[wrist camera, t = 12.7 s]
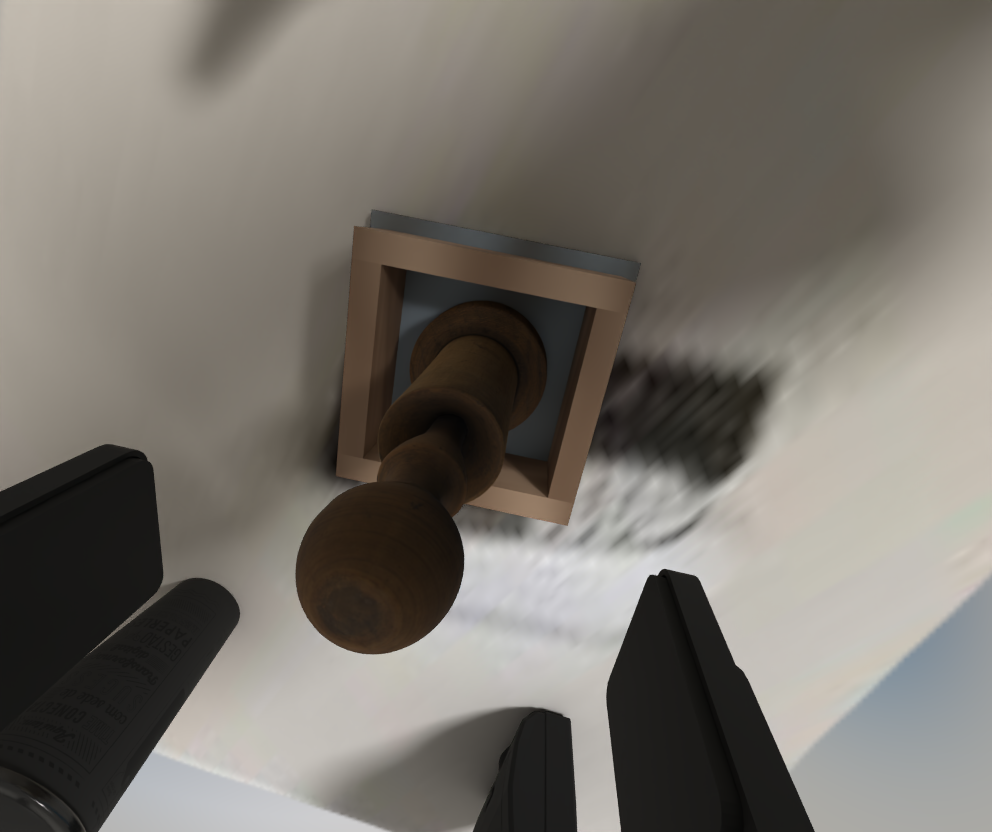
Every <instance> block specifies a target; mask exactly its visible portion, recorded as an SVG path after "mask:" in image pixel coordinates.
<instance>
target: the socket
mask: <svg viewBox="0 0 992 832" xmlns="http://www.w3.org/2000/svg"><path fill="white" fill-rule="evenodd" d="M640 265H641V263H638V262H633V261H628V260H623V259H618V258H613V257H608V256H603V255H598V254H593V253H588V252H583V251H578V250H573V249H568V248H563V247H558V246H552V245H547V244H542V243H537V242H532V241H527V240H522V239H517V238H512V237H507V236H502V235H497V234H492V233H487V232H482V231H477V230H472V229H467V228H462V227H457V226H452V225H447V224H442V223H437V222H432V221H427V220H422V219H417V218H412V217H407V216H402V215H397V214H392V213H387V212H382V211H377V210H372V212H371V224H370V228H368V227H357V226H354V235H353V249H352V262H351V276H350V290H349V303H348V317H347V331H346V344H345V358H344V372H343V386H342V399H341V413H340V427H339V440H338V454H337V468H336V476H338V477H343V478H348V479H352V480H357V481H362V482H366V483H372V482H377V474H378V470H379V467H380V465H381V460H380V457H379V453H378V443H377V440H378V432H379V427H380V424H381V421H382V419H383V417H384V415H385V413H386V412H387V410H388V409H389V407H390V406H391V405H392V404H393V403H394V402H395V401H396V400H397V399H398V398H399V397H400V396H401V395H402V394H403V393H404V392H405V391H406V389H407V388H408V387H409V386H410V385H411V381H410V371H409V369H410V359H411V354H412V351H413V348H414V345H415V343H416V341H417V339H418V337H419V336H420V334H421V333H422V331H423V330H424V329H425V328H426V327H427V326H428V325H429V324H430V323H431V322H432V321H433V320H434V319H435V318H437V317H438V316H439V315H440V314H442V313H443V312H445V311H446V310H448V309H450V308H452V307H454V306H456V305H459V304H462V303H465V302H470V301H493V302H498V303H501V304H504V305H506V306H509V307H511V308H513V309H514V310H516V311H518V312H519V313H520V314H522V315H523V316H524V317H525V318H526V319H527V320H528V321H529V322H530V323H531V324H532V325H533V326H534V328H535V329H536V331H537V332H538V334H539V336H540V338H541V340H542V342H543V345H544V348H545V352H546V357H547V380H546V386H545V390H544V393H543V396H542V398H541V400H540V402H539V404H538V406H537V407H536V409H535V410H534V412H533V413H532V414H531V415H530V416H529V417H528V418H527V419H526V420H525V421H524V422H523V423H521V424H520V425H518V426H517V427H515V428H514V429H512V430H510V431H509V432H508V438H507V445H506V452H505V458H504V463H503V466H502V469H501V472H500V474H499V476H498V478H497V479H496V481H495V482H494V483H493V485H492V486H491V487H490V488H489V489H488V490H487V491H486V492H485V493H484V494H482V495H481V496H480V497H478V498H476V499H475V500H473V501H471V502H469V503H466V504H469V505H473V506H478V507H483V508H487V509H492V510H497V511H501V512H506V513H511V514H515V515H520V516H525V517H529V518H534V519H539V520H543V521H548V522H553V523H557V524H562V525H567V526H568V522H569V519H570V515H571V512H572V508H573V505H574V501H575V497H576V494H577V490H578V487H579V483H580V480H581V476H582V473H583V469H584V466H585V462H586V459H587V455H588V451H589V448H590V444H591V441H592V437H593V434H594V430H595V427H596V423H597V420H598V416H599V413H600V409H601V406H602V402H603V398H604V395H605V391H606V388H607V384H608V381H609V377H610V374H611V370H612V367H613V363H614V360H615V356H616V352H617V349H618V345H619V342H620V338H621V335H622V331H623V328H624V324H625V321H626V317H627V314H628V310H629V307H630V303H631V299H632V296H633V292H634V289H635V285H636V279H637V276H638V272H639V269H640Z"/></svg>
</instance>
